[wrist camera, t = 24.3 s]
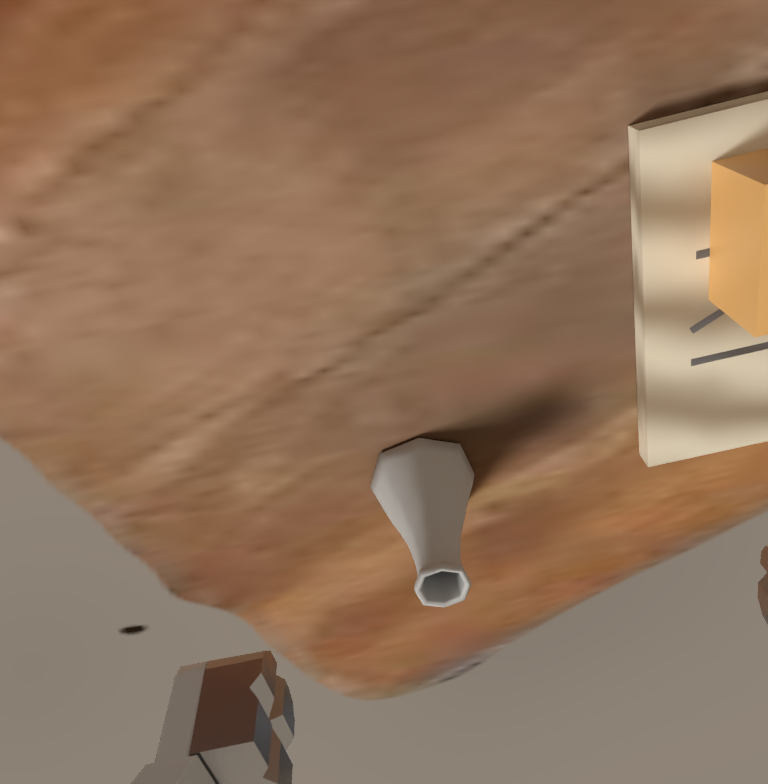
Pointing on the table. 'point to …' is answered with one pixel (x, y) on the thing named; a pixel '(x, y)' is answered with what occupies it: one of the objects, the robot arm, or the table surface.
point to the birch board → (690, 289)
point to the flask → (428, 512)
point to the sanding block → (740, 239)
